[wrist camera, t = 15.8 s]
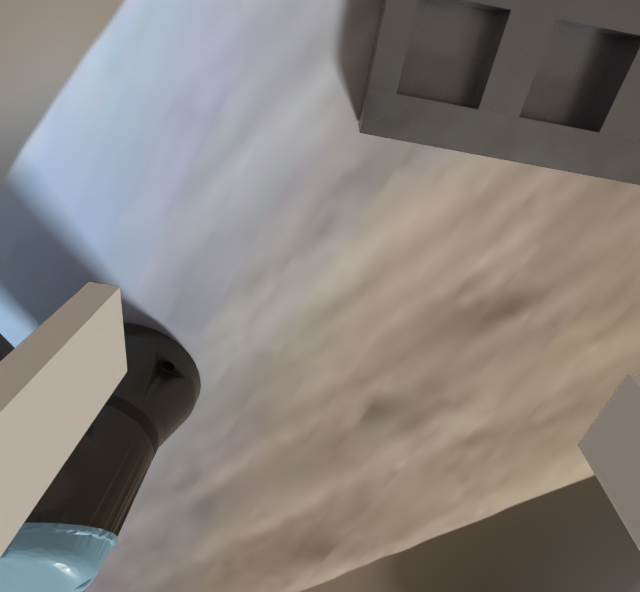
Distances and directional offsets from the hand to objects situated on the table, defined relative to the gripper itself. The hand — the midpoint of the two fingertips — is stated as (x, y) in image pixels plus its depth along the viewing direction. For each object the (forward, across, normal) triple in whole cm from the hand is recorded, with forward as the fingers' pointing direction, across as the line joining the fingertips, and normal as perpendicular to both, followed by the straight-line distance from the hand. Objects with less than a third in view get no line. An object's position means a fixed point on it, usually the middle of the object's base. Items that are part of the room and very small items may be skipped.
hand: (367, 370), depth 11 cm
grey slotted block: (+29, -14, -8) cm, 33 cm away
